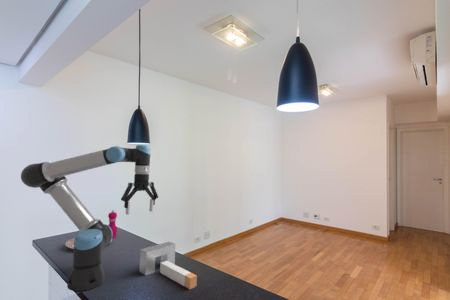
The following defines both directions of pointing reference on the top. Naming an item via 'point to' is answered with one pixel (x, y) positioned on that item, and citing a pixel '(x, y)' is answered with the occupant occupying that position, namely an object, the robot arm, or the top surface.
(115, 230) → the pepper mill
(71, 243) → the dinner plate
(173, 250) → the grey arch-shaped block
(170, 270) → the white and orange bar
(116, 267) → the top surface
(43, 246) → the top surface
